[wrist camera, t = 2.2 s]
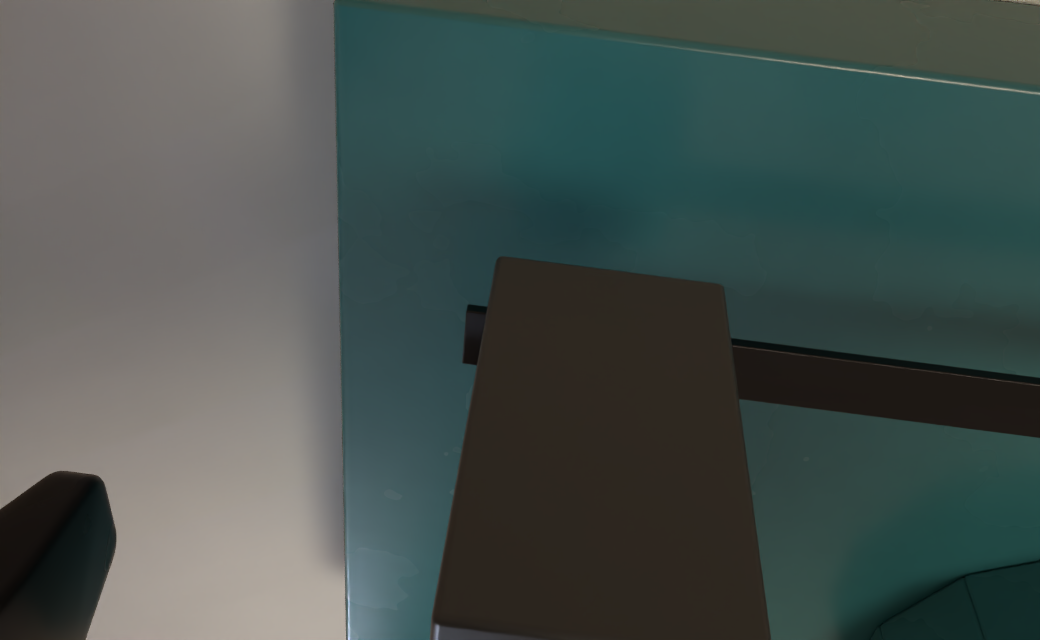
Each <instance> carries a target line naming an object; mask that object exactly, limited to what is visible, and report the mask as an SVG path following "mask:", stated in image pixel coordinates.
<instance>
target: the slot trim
mask: <svg viewBox="0 0 1040 640" xmlns="http://www.w3.org/2000/svg"><path fill="white" fill-rule="evenodd" d="M486 313H487V306H479V305H471V304H468V305H467V310H466V319H465V331H464V344H463V356H462V363H463V364H470V365H477V362H478V357H479V351H480V346H481V340H482V335H483V329H484V324H485V318H486ZM731 343H732V350H733V358H734V365H735V373H736V380H737V388H738V395H739V399H741V400H749V401H757V402H764V403H772V404H780V405H788V406H795V407H803V408H811V409H819V410H826V411H834V412H842V413H850V414H857V415H865V416H873V417H881V418H888V419H896V420H904V421H912V422H919V423H927V424H935V425H943V426H950V427H958V428H966V429H974V430H981V431H989V432H997V433H1005V434H1012V435H1020V436H1028V437H1036V438H1040V378H1039V377H1031V376H1023V375H1015V374H1007V373H1000V372H992V371H984V370H976V369H969V368H961V367H953V366H945V365H937V364H930V363H922V362H914V361H906V360H899V359H891V358H883V357H875V356H868V355H860V354H852V353H844V352H836V351H829V350H821V349H813V348H805V347H798V346H790V345H782V344H774V343H767V342H759V341H751V340H743V339H735V338H731Z"/></svg>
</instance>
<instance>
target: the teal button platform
mask: <svg viewBox="0 0 1040 640" xmlns="http://www.w3.org/2000/svg"><path fill="white" fill-rule="evenodd" d="M333 8H334V57H335V107H336V157H337V207H338V257H339V306H340V356H341V406H342V456H343V506H344V555H345V605H346V640H430V630H431V616H432V611H433V605H434V600H435V594H436V589H437V583H438V578H439V572H440V567H441V561H442V556H443V550H444V545H445V539H446V534H447V528H448V523H449V517H450V511H451V506H452V500H453V495H454V489H455V484H456V478H457V473H458V467H459V462H460V456H461V451H462V445H463V440H464V434H465V429H466V423H467V418H468V412H469V407H470V401H471V395H472V390H473V384H474V379H475V373H476V368H477V365H470V364H463V363H462V356H463V344H464V331H465V319H466V310H467V305H468V304H471V305H479V306H487V307H488V302H489V296H490V291H491V285H492V279H493V274H494V268H495V263H496V261H497V259H498V258H499V257H501V256H507V257H515V258H522V259H530V260H538V261H546V262H554V263H561V264H569V265H577V266H585V267H593V268H600V269H608V270H616V271H624V272H631V273H639V274H647V275H655V276H663V277H670V278H678V279H686V280H694V281H702V282H709V283H717V284H720V285H722V286H723V287H724V291H725V298H726V306H727V313H728V321H729V328H730V335H731V338H735V339H743V340H751V341H759V342H767V343H774V344H782V345H790V346H798V347H805V348H813V349H821V350H829V351H836V352H844V353H852V354H860V355H868V356H875V357H883V358H891V359H899V360H906V361H914V362H922V363H930V364H937V365H945V366H953V367H961V368H969V369H976V370H984V371H992V372H1000V373H1007V374H1015V375H1023V376H1031V377H1039V378H1040V6H1034V5H1026V4H1018V3H1011V2H1003V1H995V0H335V1H334V3H333ZM739 403H740V410H741V417H742V425H743V432H744V440H745V447H746V455H747V462H748V470H749V477H750V485H751V492H752V499H753V507H754V514H755V522H756V529H757V537H758V544H759V552H760V559H761V567H762V574H763V581H764V589H765V596H766V604H767V611H768V619H769V626H770V634H771V640H1040V438H1036V437H1028V436H1020V435H1012V434H1005V433H997V432H989V431H981V430H974V429H966V428H958V427H950V426H943V425H935V424H927V423H919V422H912V421H904V420H896V419H888V418H881V417H873V416H865V415H857V414H850V413H842V412H834V411H826V410H819V409H811V408H803V407H795V406H788V405H780V404H772V403H764V402H757V401H749V400H741V399H739Z"/></svg>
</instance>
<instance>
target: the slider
mask: <svg viewBox="0 0 1040 640" xmlns="http://www.w3.org/2000/svg"><path fill="white" fill-rule="evenodd" d="M430 640H771V634H770V626H769V619H768V611H767V604H766V596H765V589H764V581H763V574H762V567H761V559H760V552H759V544H758V537H757V529H756V522H755V514H754V507H753V499H752V492H751V485H750V477H749V470H748V462H747V455H746V447H745V440H744V432H743V425H742V417H741V410H740V403H739V395H738V388H737V380H736V373H735V365H734V358H733V350H732V343H731V335H730V328H729V321H728V313H727V306H726V298H725V291H724V287H723V286H722V285H720V284H717V283H709V282H702V281H694V280H686V279H678V278H670V277H663V276H655V275H647V274H639V273H631V272H624V271H616V270H608V269H600V268H593V267H585V266H577V265H569V264H561V263H554V262H546V261H538V260H530V259H522V258H515V257H507V256H501V257H499V258H498V259H497V261H496V263H495V268H494V274H493V279H492V285H491V291H490V296H489V302H488V307H487V313H486V318H485V324H484V329H483V335H482V340H481V346H480V351H479V357H478V362H477V368H476V373H475V379H474V384H473V390H472V395H471V401H470V407H469V412H468V418H467V423H466V429H465V434H464V440H463V445H462V451H461V456H460V462H459V467H458V473H457V478H456V484H455V489H454V495H453V500H452V506H451V511H450V517H449V523H448V528H447V534H446V539H445V545H444V550H443V556H442V561H441V567H440V572H439V578H438V583H437V589H436V594H435V600H434V605H433V611H432V616H431V630H430Z"/></svg>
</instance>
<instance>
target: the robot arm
mask: <svg viewBox="0 0 1040 640" xmlns="http://www.w3.org/2000/svg"><path fill="white" fill-rule="evenodd" d="M115 548H116V529H115V525H114V520H113V516H112V512H111V508H110V504H109V499H108V495H107V491H106V487H105V484H104V482H103V481H102V479H101V478H100V477H99V476H96V475H92V474H85V473H77V472H69V471H57V472H54V473H52V474H49V475H48V476H46V477H45V478H43V479H42V480H40V481H39V482H38V483H36V484H35V485H33V486H32V487H31V488H29V489H28V490H27V491H25V492H24V493H22V494H21V495H20V496H18V497H17V498H16V499H14V500H13V501H11V502H10V503H9V504H7V505H6V506H4V507H3V508H2V509H0V640H85V639H86V636H87V633H88V631H89V628H90V625H91V622H92V619H93V616H94V613H95V610H96V607H97V604H98V601H99V598H100V595H101V592H102V589H103V586H104V584H105V581H106V578H107V575H108V572H109V569H110V566H111V563H112V560H113V557H114V553H115Z"/></svg>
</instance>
